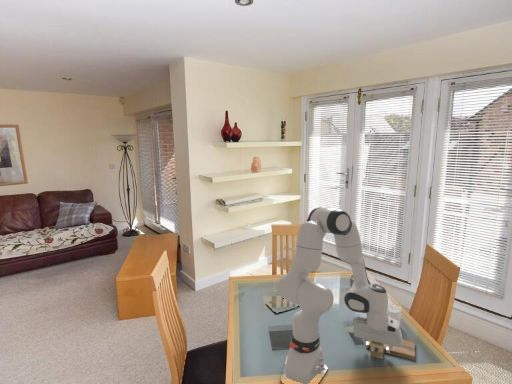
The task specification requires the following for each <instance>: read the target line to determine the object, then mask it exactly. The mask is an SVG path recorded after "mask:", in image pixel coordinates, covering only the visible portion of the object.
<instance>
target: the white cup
mask: <svg viewBox="0 0 512 384" xmlns="http://www.w3.org/2000/svg"><path fill="white" fill-rule="evenodd" d="M387 313H388V316H389V317H391V318H393V319H395V320H397V321H398V322H399V328H400V329H401V327H400V326H401V319H402V308H401V307H400V306H398V305H396V304H389V303H388V310H387Z"/></svg>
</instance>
